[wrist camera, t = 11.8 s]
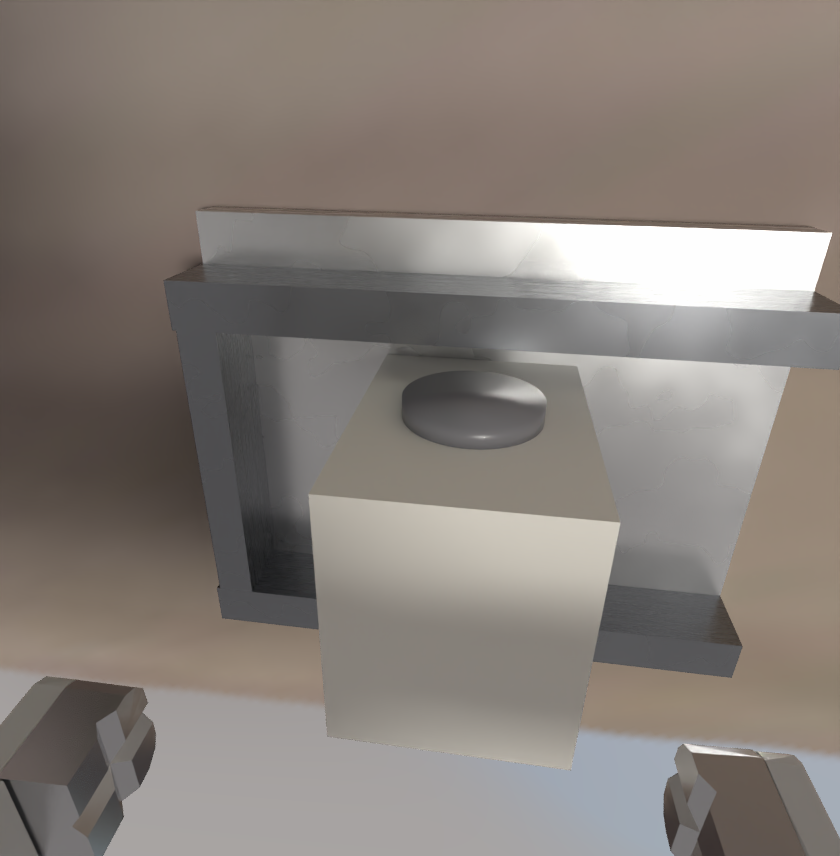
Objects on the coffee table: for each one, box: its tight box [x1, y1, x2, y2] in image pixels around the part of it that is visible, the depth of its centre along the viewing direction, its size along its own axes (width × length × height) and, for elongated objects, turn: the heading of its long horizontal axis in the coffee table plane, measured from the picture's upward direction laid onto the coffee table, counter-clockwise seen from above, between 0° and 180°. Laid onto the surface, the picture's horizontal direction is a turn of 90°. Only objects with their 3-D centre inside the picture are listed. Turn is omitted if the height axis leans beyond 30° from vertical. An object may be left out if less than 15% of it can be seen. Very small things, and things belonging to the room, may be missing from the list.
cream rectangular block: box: [308, 354, 621, 770], centre depth 14 cm, size 5×6×7 cm
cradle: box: [164, 207, 840, 678], centre depth 17 cm, size 15×13×3 cm
